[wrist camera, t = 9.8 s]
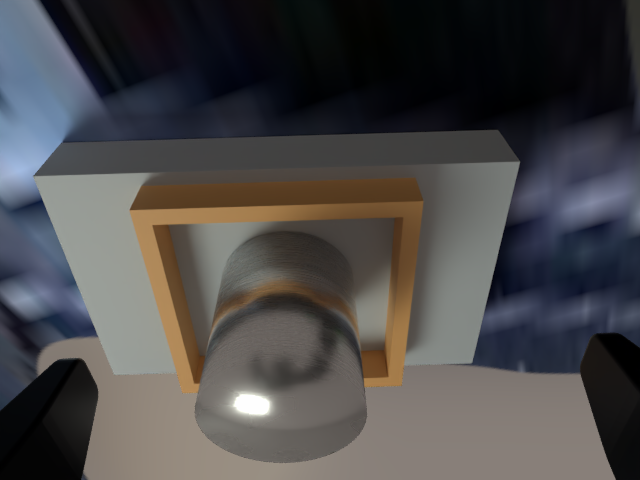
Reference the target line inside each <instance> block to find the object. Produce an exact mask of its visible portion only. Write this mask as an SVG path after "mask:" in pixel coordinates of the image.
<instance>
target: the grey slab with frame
mask: <svg viewBox="0 0 640 480" xmlns="http://www.w3.org/2000/svg"><path fill="white" fill-rule="evenodd" d="M519 164H520V161H519V159H518V158H517V156H516V155H515V154H514V152H513V151H512V149H511V148H510V146H509V145H508V144H507V142H506V141H505V139H504V138H503V136H502V135H501V134H500V132H499V131H498V130H476V131H442V132H408V133H375V134H341V135H307V136H273V137H240V138H206V139H172V140H138V141H105V142H71V143H61V144H60V145H59V146H58V147H57V148H56V150H55V151H54V152H53V153H52V154H51V156H50V157H49V158H48V159H47V160H46V162H45V163H44V164H43V165H42V166H41V168H40V169H39V170H38V171H37V172H36V174H35V175H34V176H33V177H34V179H35V182H36V184H37V187H38V189H39V192H40V194H41V197H42V199H43V202H44V204H45V206H46V209H47V211H48V214H49V216H50V219H51V221H52V224H53V226H54V229H55V231H56V234H57V236H58V238H59V241H60V243H61V246H62V248H63V251H64V253H65V256H66V258H67V261H68V263H69V265H70V268H71V270H72V273H73V275H74V278H75V280H76V283H77V285H78V288H79V290H80V293H81V295H82V297H83V300H84V302H85V305H86V307H87V310H88V312H89V315H90V317H91V320H92V322H93V324H94V327H95V329H96V332H97V334H98V337H99V339H100V342H101V344H102V347H103V349H104V351H105V354H106V356H107V359H108V361H109V364H110V366H111V369H112V371H113V374H114V375H129V374H158V373H177V376H178V379H179V383H180V386H181V389H182V393H198V390H199V385H200V380H201V375H202V371H203V366H204V361H205V356H206V351H207V346H208V341H209V336H210V332H211V327H212V322H213V317H214V312H215V307H216V302H217V297H218V292H219V288H220V283H221V278H222V273H223V269H224V266H225V264H226V262H227V260H228V258H229V257H230V255H231V254H232V253H233V252H234V251H235V250H236V249H237V248H238V247H239V246H241V245H242V244H243V243H245V242H247V241H248V240H250V239H253V238H255V237H257V236H260V235H264V234H267V233H273V232H283V231H288V232H300V233H305V234H309V235H313V236H315V237H318V238H321V239H323V240H325V241H326V242H328V243H330V244H331V245H333V246H334V247H335V248H337V249H338V250H339V251H340V252H341V253H342V254H343V255H344V257H345V258H346V259H347V261H348V263H349V264H350V267H351V269H352V273H353V279H354V289H355V298H356V308H357V318H358V328H359V338H360V348H361V358H362V368H363V378H364V387H380V386H381V387H382V386H402V377H403V369H404V365H431V364H461V363H472V360H473V356H474V352H475V348H476V344H477V340H478V335H479V331H480V327H481V323H482V319H483V315H484V310H485V306H486V302H487V298H488V294H489V290H490V285H491V281H492V277H493V273H494V269H495V265H496V260H497V256H498V252H499V248H500V244H501V240H502V235H503V231H504V227H505V223H506V219H507V214H508V210H509V206H510V202H511V198H512V194H513V189H514V185H515V181H516V177H517V173H518V169H519Z"/></svg>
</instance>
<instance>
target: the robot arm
mask: <svg viewBox="0 0 640 480" xmlns="http://www.w3.org/2000/svg"><path fill="white" fill-rule="evenodd" d="M580 373H581V377H582V381H583V384H584V387H585V390H586V393H587V397H588V400H589V403H590V406H591V409H592V413H593V416H594V419H595V422H596V426H597V429H598V432H599V435H600V438H601V442H602V445H603V447H604V451H605V454H606V457H607V459H608V462H609V464H610V467H611V469H612V472H613V474H614V476H615V478H616V480H640V348H639V347H638V346H637V345H635V344H634V343H632V342H631V341H630V340H628V339H627V338H626V337H624V336H623V335H621V334H619V333H597V334H594V335H593V336H592V337H591V338H590V340H589V343H588V346H587V348H586V351H585V353H584V356H583V359H582V361H581V365H580ZM97 401H98V388H97V385H96V383H95V381H94V379H93V377H92V375H91V373H90V371H89V369H88V367H87V365H86V363H85V361H84V360H82V359H80V358H68V359H59V360H57V361H55V362H54V363H53V364H52V365H51V366H49V367H48V369H46V370H45V371H44V372H43V373H42V374H41V375H39V376H38V377H37V378H36V379H35V380H34V381H33V382H32V383H31V384H29V385H28V386H27V387H26V388H25V389H24V390H23V391H22V392H21V393H19V394H18V395H17V396H16V397H15V398H14V399H13V400H12V401H11V402H10V403H8V404H7V405H6V406H5V407H4V408H3V409H2V410H1V411H0V480H81V478H82V474H83V470H84V465H85V460H86V455H87V450H88V445H89V441H90V435H91V431H92V426H93V421H94V416H95V411H96V406H97Z"/></svg>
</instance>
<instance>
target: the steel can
mask: <svg viewBox="0 0 640 480" xmlns="http://www.w3.org/2000/svg"><path fill="white" fill-rule="evenodd" d="M195 417H196V421H197V423H198V426H199V427H200V429H201V431H202V432H203V433H204V434H205V435H206V437H207V438H208V439H210V440H211V441H212V442H213V443H215V444H216V445H218V446H219V447H221V448H222V449H224V450H226V451H228V452H231V453H233V454H236V455H238V456H241V457H244V458H248V459H253V460H258V461H264V462H274V463H290V462H301V461H308V460H313V459H317V458H321V457H324V456H327V455H329V454H332V453H334V452H336V451H338V450H340V449H342V448H344V447H345V446H347V445H348V444H349V443H351V442H352V441H353V440H354V439H355V438H356V437H357V436H358V435H359V434H360V432H361V431H362V429H363V427H364V425H365V423H366V417H367V408H366V398H365V388H364V378H363V368H362V358H361V348H360V338H359V328H358V318H357V308H356V298H355V289H354V279H353V273H352V269H351V267H350V264H349V263H348V261H347V259H346V258H345V257H344V255H343V254H342V253H341V252H340V251H339V250H338V249H337V248H335V247H334V246H333V245H331V244H330V243H328V242H326V241H325V240H323V239H321V238H318V237H315V236H313V235H309V234H305V233H300V232H288V231H283V232H273V233H267V234H264V235H260V236H257V237H255V238H253V239H250V240H248V241H247V242H245V243H243V244H242V245H241V246H239V247H238V248H237V249H236V250H235V251H234V252H233V253H232V254H231V255H230V257H229V258H228V260H227V262H226V264H225V266H224V269H223V273H222V278H221V283H220V288H219V292H218V297H217V302H216V307H215V312H214V317H213V322H212V327H211V332H210V336H209V341H208V346H207V351H206V356H205V361H204V366H203V371H202V375H201V380H200V385H199V390H198V395H197V401H196V405H195Z"/></svg>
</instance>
